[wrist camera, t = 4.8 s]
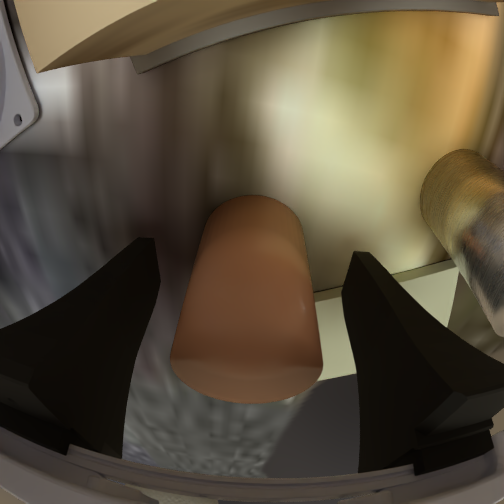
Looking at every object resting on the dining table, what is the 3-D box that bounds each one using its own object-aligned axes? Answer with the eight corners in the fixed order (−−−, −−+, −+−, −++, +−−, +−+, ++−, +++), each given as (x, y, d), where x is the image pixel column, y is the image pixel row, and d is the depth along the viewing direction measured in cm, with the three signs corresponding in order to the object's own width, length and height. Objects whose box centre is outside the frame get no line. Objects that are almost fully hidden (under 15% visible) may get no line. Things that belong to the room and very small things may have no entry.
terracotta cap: (223, 285, 14) (206, 407, 9) (188, 210, 12) (141, 334, 7) (311, 267, 13) (330, 393, 8) (290, 183, 11) (309, 306, 6)
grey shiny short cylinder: (419, 241, 12) (479, 351, 7) (418, 156, 10) (512, 252, 5) (488, 224, 11) (558, 314, 7) (494, 144, 9) (593, 222, 4)
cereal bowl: (220, 475, 38) (216, 515, 32) (222, 490, 48) (220, 520, 42) (114, 456, 38) (106, 494, 32) (140, 477, 48) (135, 506, 42)
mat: (286, 377, 19) (287, 385, 18) (254, 304, 15) (254, 314, 14) (438, 342, 17) (440, 350, 16) (454, 258, 13) (459, 266, 12)
